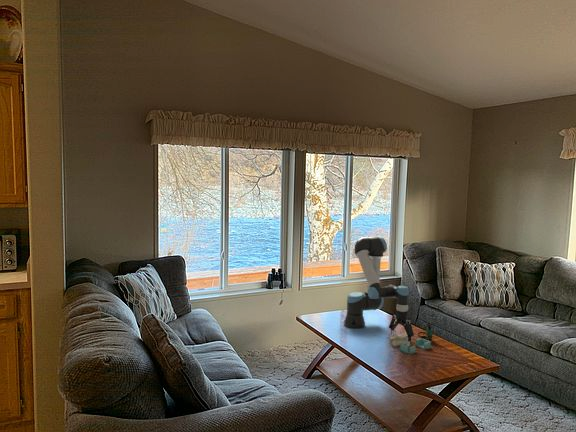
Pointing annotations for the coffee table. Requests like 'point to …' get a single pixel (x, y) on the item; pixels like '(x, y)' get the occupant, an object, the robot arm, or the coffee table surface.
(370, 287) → the robot arm
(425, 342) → the cap
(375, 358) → the coffee table surface
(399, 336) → the beige long bar
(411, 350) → the cap
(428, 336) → the binoculars
